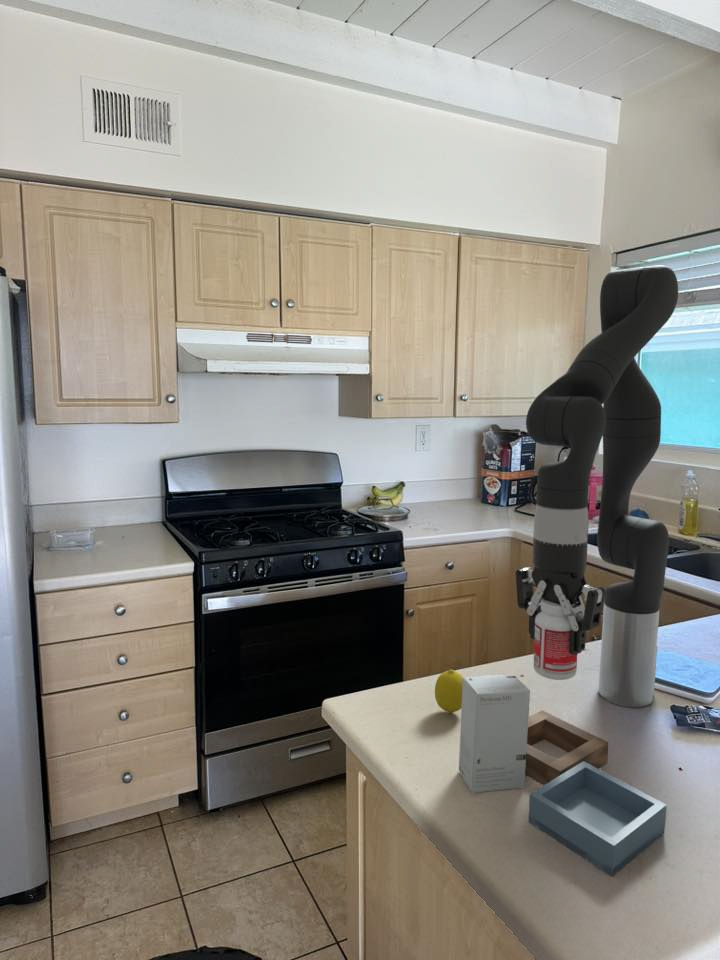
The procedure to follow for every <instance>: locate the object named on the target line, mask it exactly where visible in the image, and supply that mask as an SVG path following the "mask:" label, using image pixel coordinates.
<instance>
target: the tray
mask: <svg viewBox="0 0 720 960" xmlns="http://www.w3.org/2000/svg"><path fill="white" fill-rule="evenodd" d="M667 808H668V807H667V804H666V803H664V802H662V801H661V800H659V799H656V798H655V797H653V796H651V795H649V794H647V793H645V792H643V791H642V790H639V789H637V788H635V787H634V786H631V785H629V784H628V783H626V782H624V781H622V780H620V779H619V778H616V777H614V776H612V775H611V774H608V773H607V772H605V771H603V770H601V769H597V768H595V767H594V766H592V765H590V764H588V763H586V762H584V761H583V762H581V763H580V764H578V765H576V766H575V767H573V768H572V769H570V770H568V771H567V772H565V773H563V774H562V775H560V776H558V777H557V778H555V779H553V780H552V781H550V782H549V783H547V784H545V785H542V786H540V787H539V788H537V789H535V790H533V791H531V792H530V793H529V801H528V823H529V824H531V825H532V826H533V827H536V828H537V829H538V830H540V831H542V832H543V833H545V834H546V835H548V836H549V837H551V838H552V839H554V840H555V841H557V842H559V843H560V844H561V845H563V846H565V847H566V848H568V850H570V851H572V852H573V853H575V854H577V855H578V856H579V857H581V858H582V859H585V860H586V861H587V862H589V863H590V864H591V865H593V866H595V867H596V868H598V869H600V870H601V871H603V872H604V873H605V874H607V875H609V876H610V877H613V876H615V875H616V874H617V873H618V872H620V871H621V870H622V869H623V868H624V867H626V866H627V865H628V864H629V863H631V862H632V861H633V860H634V859H635V858H636V857H637V856H639V855H640V854H641V853H643V852H644V851H645V850H646V849H648V848H649V847H650V846H651V845H652V844H654V843H655V842H656V841H657V840H659V838H661V837H662V836H663V835H664V834H665V829H666V819H667V816H666V815H667Z"/></svg>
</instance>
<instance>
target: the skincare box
mask: <svg viewBox="0 0 720 960" xmlns="http://www.w3.org/2000/svg"><path fill="white" fill-rule="evenodd" d="M462 681H463V685H462V707H461V709H460V711H461V713H460V733H459V735H460V737H459V758H458V771H459V773H460V775H461V776H462V779H463V780H464V782H465V784H466V786H467V788H468V789H469V790H470V791H469V792H470V793H471V794H478V793H485V792H492V791H493V792H494V791H499V790H508V789H509V790H510V789H523V788H524V787H525V784H526V783H525V782H526V781H525V779H526V775H525V766H526V750H527V734H528V718H529V717H530V701H531V699H530V698H531V690H530V689H529V688H528V687H527V686H526V685H525V684H524V683H523V681H521V680H520V679H519V678H518V677H517V676H515V675H514V674H498V675H496V674H495V675H494V674H487V675H481V676H466V677H463V678H462Z"/></svg>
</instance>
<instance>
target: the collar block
mask: <svg viewBox="0 0 720 960" xmlns="http://www.w3.org/2000/svg"><path fill="white" fill-rule="evenodd" d="M543 740H544V741H546V742H548V743H550V744H552V745H554V746H556V747H558V748H559V749H561V750H563V751H565V752H567V753H566V754H564V755H563V756H561V757H559V758H558V759H556V758H554V757H552V756H550V755H549V754H547V753H545V752H543V751H541V750H539V749H538V748H535V747H534V746H535V745H536V744H538V743H540V742H542V741H543ZM609 745H610V744H609V741H607V740H605V739H602V738H601V737H599V736H596V735H594V734H592V733H590V732H588V731H586V730H584V729H582V728H580V727H578V726H576V725H573V724H572V723H569V722H567V721H566V720H563V719H561V718H559V717H557V716H556V715H553V714H551V713H549V712H546V711H545V710H540V711H538V712H535V713H534V714H532V715H529V718H528V734H527V750H526V766H525V776H526V777H529V778H530V779H532V780H534V781H536V782H537V783H538V784H541V785H542V786H544V785H545V784H547V783H549V782H550V781H552V780H553V779H555V778H557V777H558V776H560V775H562V774H563V773H565V772H567V771H568V770H570V769H572V768H573V767H575V766H576V765H578V764H580V763H581V762H583V761H584V762H586V763H588V764H590V765H592V766H594V767H595V768H597V769H599V770H601V768H603V767H604V766H606V765H607V764H608V758H609V757H608V756H609Z"/></svg>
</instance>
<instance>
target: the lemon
mask: <svg viewBox="0 0 720 960" xmlns="http://www.w3.org/2000/svg"><path fill="white" fill-rule="evenodd" d="M462 678H464V677H463V675H461V674H460V673H459V672H458V671H455V670H454V669H449V670H446V671H443V672H442V673H441V674H440V675H439V676H438V677H437V679H436V682H435V686H434V696H435V697H434V698H435V701H436V703H437V705H438V707H440V709H442V710H443V711H445V712H447V713H448V714H450V715H451V714H454V713H456V712H458V711H461V707H462V685H463V681H462Z"/></svg>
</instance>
